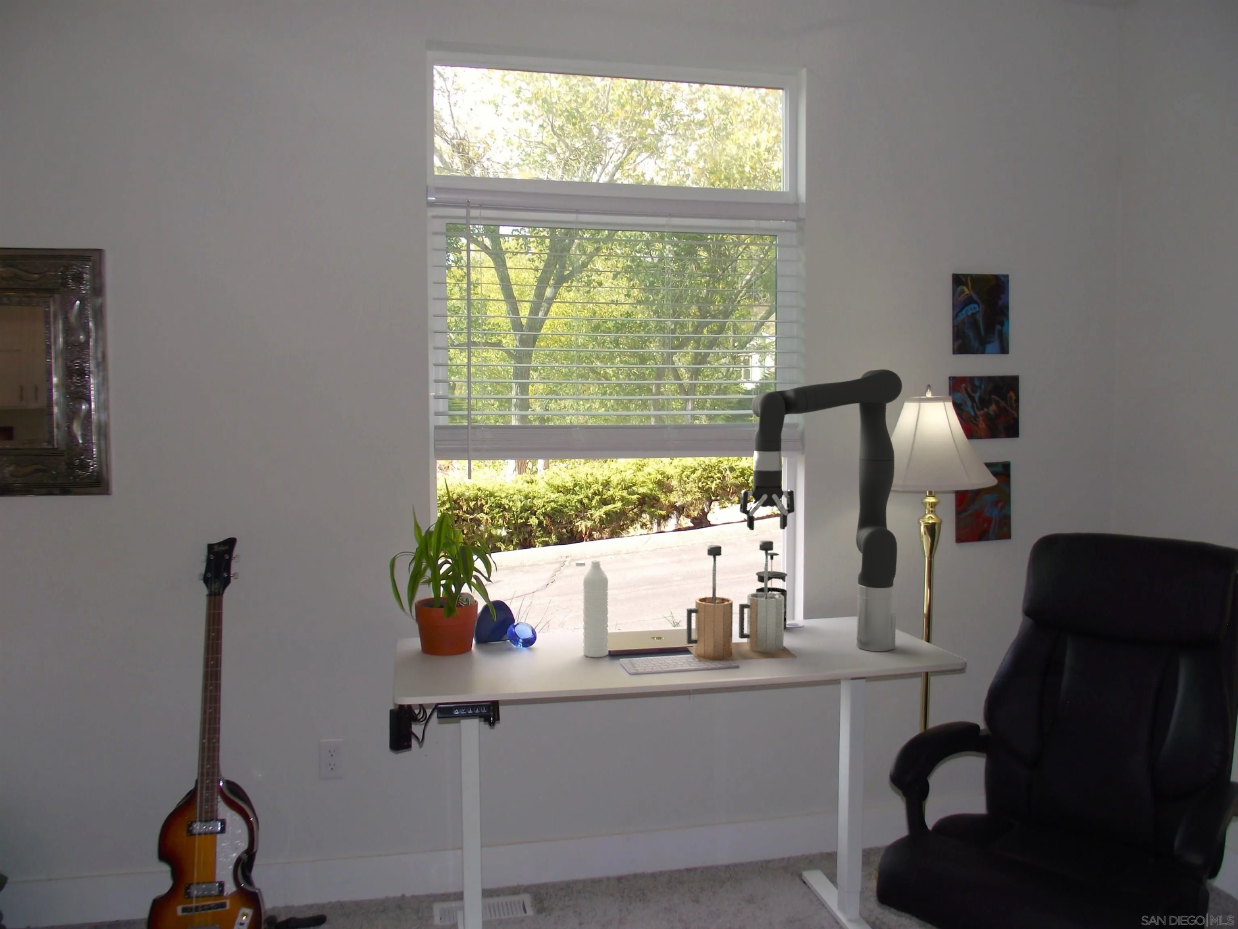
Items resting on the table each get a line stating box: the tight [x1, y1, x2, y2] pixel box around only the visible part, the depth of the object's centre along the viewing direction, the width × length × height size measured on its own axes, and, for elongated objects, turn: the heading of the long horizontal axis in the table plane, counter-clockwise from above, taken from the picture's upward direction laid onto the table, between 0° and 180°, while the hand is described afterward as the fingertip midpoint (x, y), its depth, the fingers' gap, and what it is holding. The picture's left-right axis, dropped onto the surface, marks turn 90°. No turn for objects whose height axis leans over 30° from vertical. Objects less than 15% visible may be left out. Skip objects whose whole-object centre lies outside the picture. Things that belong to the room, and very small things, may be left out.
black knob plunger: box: [706, 544, 722, 604], centre depth 226 cm, size 7×7×16 cm
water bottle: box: [575, 560, 609, 658], centre depth 229 cm, size 9×6×25 cm
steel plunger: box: [757, 540, 776, 599], centre depth 231 cm, size 7×7×16 cm
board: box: [686, 641, 798, 663], centre depth 230 cm, size 26×16×1 cm, turn 99°
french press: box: [755, 552, 788, 630], centre depth 255 cm, size 12×9×23 cm
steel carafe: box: [738, 592, 785, 653], centre depth 232 cm, size 12×9×14 cm
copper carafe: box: [686, 596, 734, 659], centre depth 226 cm, size 12×9×14 cm
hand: (766, 529), depth 230 cm, fingers open, 8 cm apart
